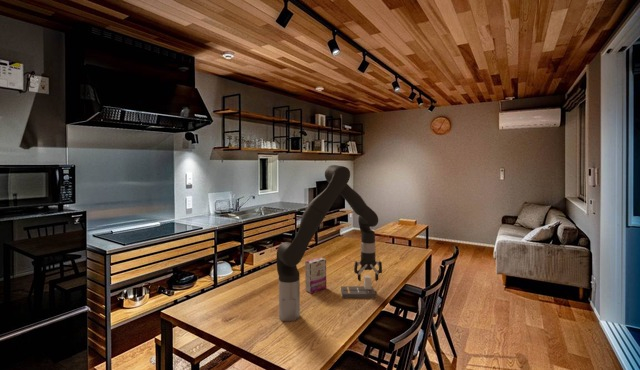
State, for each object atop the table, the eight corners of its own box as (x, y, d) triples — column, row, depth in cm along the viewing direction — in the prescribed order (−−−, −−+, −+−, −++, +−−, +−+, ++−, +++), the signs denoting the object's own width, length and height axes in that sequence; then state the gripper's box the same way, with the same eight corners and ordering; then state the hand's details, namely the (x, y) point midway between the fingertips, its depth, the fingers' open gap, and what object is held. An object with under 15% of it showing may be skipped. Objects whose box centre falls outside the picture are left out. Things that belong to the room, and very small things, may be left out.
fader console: (375, 297, 169) (375, 293, 169) (342, 297, 169) (342, 293, 168) (372, 289, 179) (372, 286, 179) (340, 290, 178) (340, 286, 178)
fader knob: (371, 290, 172) (371, 278, 171) (365, 291, 172) (365, 278, 171) (369, 287, 176) (369, 275, 175) (364, 287, 176) (364, 275, 175)
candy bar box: (320, 285, 185) (320, 256, 183) (326, 288, 181) (326, 258, 179) (304, 290, 178) (304, 260, 176) (310, 293, 174) (310, 263, 172)
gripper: (355, 252, 168) (355, 283, 169) (383, 252, 168) (383, 283, 170) (353, 248, 175) (353, 278, 177) (380, 248, 176) (380, 278, 177)
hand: (368, 280), depth 173 cm, fingers open, 8 cm apart
